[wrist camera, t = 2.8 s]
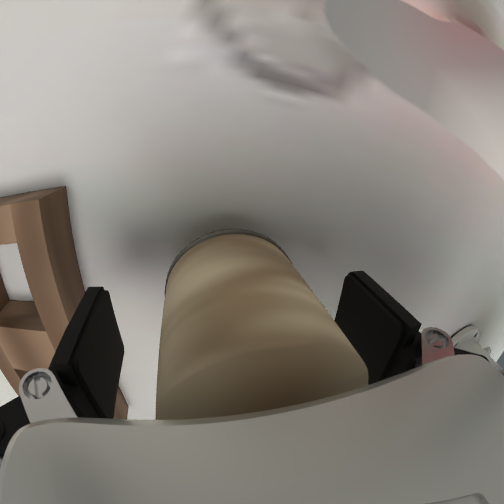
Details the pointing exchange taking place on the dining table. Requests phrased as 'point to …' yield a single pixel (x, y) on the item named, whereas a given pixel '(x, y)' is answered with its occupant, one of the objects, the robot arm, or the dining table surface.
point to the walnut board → (40, 284)
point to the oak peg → (246, 333)
